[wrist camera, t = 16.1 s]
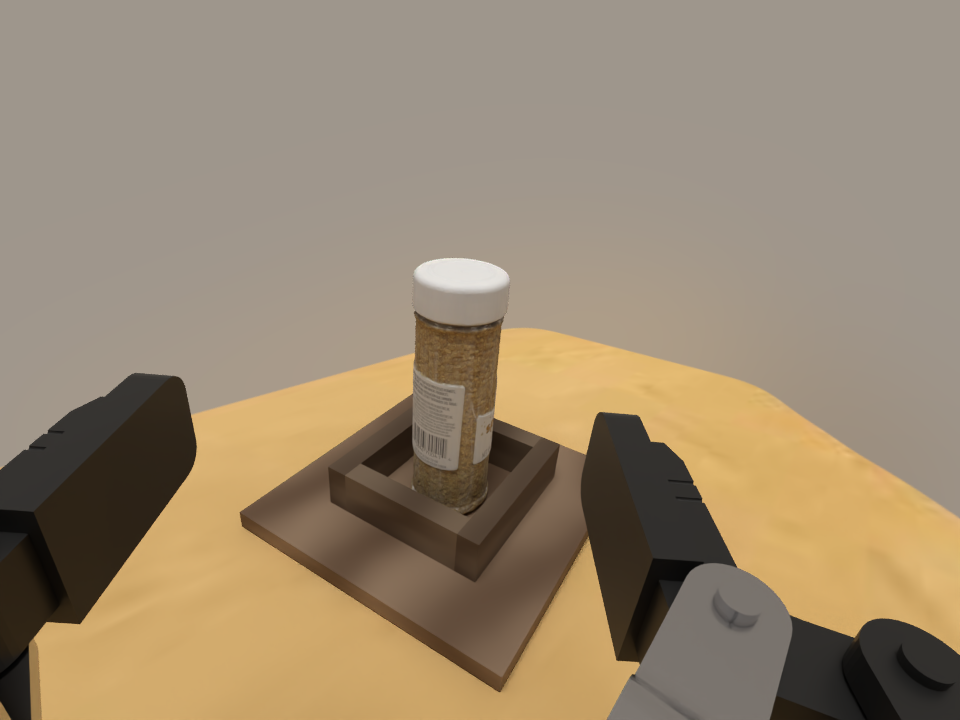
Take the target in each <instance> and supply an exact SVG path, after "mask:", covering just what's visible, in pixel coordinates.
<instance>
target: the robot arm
mask: <svg viewBox="0 0 960 720" xmlns="http://www.w3.org/2000/svg"><path fill="white" fill-rule="evenodd" d="M196 449H197V446H196V438H195V433H194V428H193V423H192V418H191V413H190V408H189V403H188V398H187V393H186V388H185V385H184V383H183V381H182V380H181V379H180V378H179V377H176V376H167V375H154V374H142V373H134V374H131V375H130V376H128V377H127V378H126V379H125V380H124V381H123V382H121V383H120V384H119V385H118V386H117V387H116V388H115V389H113V390H112V391H111V392H110V393H109V394H108V395H106V396H105V397H99V398H97V399H95V400H93V401H91V402H89V403H87V404H85V405H83V406H81V407H79V408H77V409H75V410H73V411H71V412H69V413H68V414H67V415H66V416H65V417H63V418H62V419H61V420H60V421H58V422H57V423H56V424H55V425H54V426H52V427H51V428H50V429H49V430H48V434H43V435H42V436H41V437H39V438H38V439H37V440H36V441H34V442H33V443H32V444H31V445H30V446H29V450H24V451H22V452H21V453H20V454H19V455H17V456H16V457H15V458H14V459H13V460H12V461H10V462H9V463H8V464H7V465H5V466H4V467H3V468H2V469H1V470H0V720H42V715H41V694H40V674H39V654H38V647H37V644H36V642H35V640H34V637H35V636H36V634H37V633H38V632H39V630H40V629H41V628H42V627H43V625H44V624H45V623H46V622H55V623H71V624H81V622H82V621H83V620H84V618H85V617H86V615H87V614H88V613H89V611H90V610H91V608H92V607H93V606H94V604H95V603H96V602H97V600H98V599H99V597H100V596H101V595H102V593H103V592H104V591H105V589H106V588H107V586H108V585H109V584H110V582H111V581H112V580H113V578H114V577H115V575H116V574H117V573H118V571H119V570H120V569H121V567H122V566H123V564H124V563H125V562H126V560H127V559H128V558H129V556H130V555H131V553H132V552H133V551H134V549H135V548H136V547H137V545H138V544H139V542H140V541H141V540H142V538H143V537H144V536H145V534H146V533H147V531H148V530H149V529H150V527H151V526H152V524H153V523H154V522H155V520H156V519H157V518H158V516H159V515H160V513H161V512H162V511H163V509H164V508H165V507H166V505H167V504H168V502H169V501H170V500H171V498H172V497H173V496H174V494H175V493H176V491H177V490H178V489H179V487H180V486H181V485H182V483H183V482H184V480H185V479H186V478H187V476H188V475H189V473H190V471H191V470H192V467H193V465H194V461H195V457H196ZM693 482H694V481H693V479H692V477H691V475H690V473H689V472H688V470H687V468H686V466H685V464H684V462H683V460H681V459H680V458H679V457H678V456H677V455H676V454H675V453H674V452H673V451H672V450H671V449H670V448H669V447H668V446H667V445H666V444H664V443H659V442H651V441H650V439H649V437H648V434H647V432H646V430H645V428H644V426H643V423H642V421H641V419H640V417H639V416H637V415H629V414H617V413H605V412H599V413H598V414H597V416H596V418H595V421H594V425H593V430H592V434H591V438H590V442H589V446H588V450H587V455H586V459H585V463H584V467H583V471H582V477H581V503H582V508H583V513H584V517H585V522H586V526H587V531H588V535H589V540H590V544H591V549H592V553H593V557H594V562H595V566H596V571H597V575H598V580H599V584H600V589H601V593H602V598H603V602H604V606H605V611H606V615H607V620H608V624H609V629H610V633H611V638H612V642H613V647H614V651H615V656H616V660H617V661H631V662H639V663H640V666H639V668H638V670H637V672H636V673H635V675H634V674H632V675H631V677H630V678H629V680H628V681H627V683H626V685H625V687H624V688H623V690H622V692H621V694H620V696H619V698H618V700H617V701H616V703H615V705H614V707H613V709H612V711H611V713H610V715H609V716H608V718H607V720H960V655H959V654H957V653H956V652H955V651H954V650H953V649H952V648H950V647H949V646H948V645H946V644H945V643H943V642H942V641H941V640H939V639H937V638H936V637H934V636H933V635H931V634H929V633H927V632H926V631H924V630H922V629H920V628H918V627H915V626H913V625H910V624H908V623H904V622H901V621H898V620H892V619H874V620H871V621H869V622H867V623H866V624H865V625H864V626H863V627H862V628H861V630H860V631H859V633H858V634H857V636H856V637H855V638H853V637H850V636H847V635H844V634H841V633H838V632H835V631H833V630H830V629H827V628H824V627H821V626H818V625H815V624H812V623H809V622H806V621H803V620H801V619H798V618H796V617H793V616H791V615H789V613H788V611H787V609H786V607H785V605H784V604H783V602H782V601H781V600H780V598H779V597H778V596H777V595H776V594H775V593H774V591H773V590H771V589H770V588H769V587H768V586H767V585H766V584H765V583H763V582H762V581H761V580H759V579H758V578H756V577H755V576H753V575H751V574H750V573H748V572H746V571H743V570H741V569H739V568H737V566H736V564H735V562H734V560H733V558H732V556H731V554H730V552H729V550H728V548H727V546H726V544H725V542H724V540H723V538H722V537H721V535H720V533H719V531H718V529H717V527H716V525H715V523H714V521H713V519H712V517H711V515H710V513H709V511H708V509H707V507H706V505H705V503H702V497H701V495H700V493H699V491H698V489H697V487H696V486H694V485H693Z"/></svg>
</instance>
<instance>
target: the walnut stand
mask: <svg viewBox="0 0 960 720" xmlns="http://www.w3.org/2000/svg"><path fill="white" fill-rule="evenodd" d="M412 438H413V394H412V395H410V396H409V397H407V398H406V399H404V400H403V401H401V402H400V403H399V404H397V405H396V406H394V407H393V408H391V409H390V410H388V411H387V412H385V413H384V414H382V415H381V416H380V417H378V418H377V419H375V420H374V421H372V422H371V423H369V424H368V425H366V426H365V427H363V428H362V429H361V430H359V431H358V432H356V433H355V434H353V435H352V436H350V437H349V438H347V439H346V440H345V441H343V442H342V443H340V444H339V445H337V446H336V447H334V448H333V449H331V450H330V451H328V452H327V453H326V454H324V455H323V456H321V457H320V458H318V459H317V460H315V461H314V462H312V463H311V464H310V465H308V466H307V467H305V468H304V469H302V470H301V471H299V472H298V473H296V474H295V475H293V476H292V477H291V478H289V479H288V480H286V481H285V482H283V483H282V484H280V485H279V486H277V487H276V488H274V489H273V490H272V491H270V492H269V493H267V494H266V495H264V496H263V497H261V498H260V499H258V500H257V501H256V502H254V503H253V504H251V505H250V506H248V507H247V508H245V509H244V510H242V511H241V512H240V517H241V522H242V526H243V527H244V528H246V529H247V530H249V531H251V532H252V533H254V534H255V535H257V536H258V537H260V538H261V539H263V540H265V541H266V542H268V543H269V544H271V545H272V546H274V547H275V548H277V549H278V550H280V551H282V552H283V553H285V554H286V555H288V556H289V557H291V558H292V559H294V560H296V561H297V562H299V563H300V564H302V565H303V566H305V567H306V568H308V569H310V570H311V571H313V572H314V573H316V574H317V575H319V576H320V577H322V578H324V579H325V580H327V581H328V582H330V583H331V584H333V585H334V586H336V587H337V588H339V589H341V590H342V591H344V592H345V593H347V594H348V595H350V596H351V597H353V598H355V599H356V600H358V601H359V602H361V603H362V604H364V605H365V606H367V607H369V608H370V609H372V610H373V611H375V612H376V613H378V614H379V615H381V616H382V617H384V618H386V619H387V620H389V621H390V622H392V623H393V624H395V625H396V626H398V627H400V628H401V629H403V630H404V631H406V632H407V633H409V634H410V635H412V636H414V637H415V638H417V639H418V640H420V641H421V642H423V643H424V644H426V645H427V646H429V647H431V648H432V649H434V650H435V651H437V652H438V653H440V654H441V655H443V656H445V657H446V658H448V659H449V660H451V661H452V662H454V663H455V664H457V665H459V666H460V667H462V668H463V669H465V670H466V671H468V672H469V673H471V674H473V675H474V676H476V677H477V678H479V679H480V680H482V681H483V682H485V683H486V684H488V685H490V686H491V687H493V688H494V689H496V690H497V691H499V692H500V691H501V689H502V687H503V686H504V684H505V682H506V680H507V678H508V677H509V675H510V673H511V671H512V670H513V668H514V666H515V664H516V663H517V661H518V659H519V657H520V656H521V654H522V652H523V650H524V649H525V647H526V645H527V643H528V641H529V640H530V638H531V636H532V634H533V633H534V631H535V629H536V627H537V626H538V624H539V622H540V620H541V619H542V617H543V615H544V613H545V611H546V610H547V608H548V606H549V604H550V603H551V601H552V599H553V597H554V596H555V594H556V592H557V590H558V589H559V587H560V585H561V583H562V581H563V580H564V578H565V576H566V574H567V573H568V571H569V569H570V567H571V566H572V564H573V562H574V560H575V559H576V557H577V555H578V553H579V551H580V550H581V548H582V546H583V544H584V543H585V541H586V539H587V537H588V536H589V535H588V531H587V526H586V522H585V517H584V513H583V508H582V503H581V477H582V471H583V467H584V463H585V459H586V455H584V454H582V453H579V452H577V451H574V450H572V449H569V448H567V447H564V446H562V445H560V444H558V443H555V442H553V441H550V440H547V439H545V438H542V437H540V436H537V435H535V434H532V433H530V432H527V431H525V430H522V429H520V428H517V427H515V426H512V425H510V424H507V423H505V422H502V421H500V420H497V419H495V418H494V419H493V431H492V442H491V450H490V453H489V461H488V473H487V481H488V492H487V495H486V498H485V499H484V501H483V502H482V503H481V504H480V505H479V506H478V507H477V508H476V509H474V510H473V511H471V512H468V513H465V514H463V515H462V514H460V513H458V512H456V511H454V510H452V509H450V508H448V507H446V506H444V505H442V504H440V503H438V502H436V501H434V500H432V499H430V498H428V497H426V496H424V495H422V494H420V493H418V492H416V491H414V490H412V489H411V480H412V478H413V474H414V473H413V472H414V467H413V463H414V449H413V442H412Z"/></svg>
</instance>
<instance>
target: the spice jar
mask: <svg viewBox="0 0 960 720" xmlns="http://www.w3.org/2000/svg"><path fill="white" fill-rule="evenodd" d="M509 288H510V279H509V276H508V274H507V273H506V272H505V271H504V270H503V269H502V268H500V267H498V266H495V265H493V264H490V263H487V262H483V261H479V260H472V259H462V258H445V259H437V260H431V261H428V262H425V263H423V264H421V265H420V266H418V267H417V268H416V270H415V271H414V275H413V308H414V309H415V312H414V314H415V318H416V341H415V345H416V346H415V360H414V370H413V438H412V442H413V449H414V463H413V467H414V472H413V473H414V474H413V478H412V480H411V489H412V490H414V491H416V492H418V493H420V494H422V495H424V496H426V497H428V498H430V499H432V500H434V501H436V502H438V503H440V504H442V505H444V506H446V507H448V508H450V509H452V510H454V511H456V512H458V513H460V514H462V515H463V514H465V513H468V512H471V511H473V510H474V509H476V508H477V507H478V506H479V505H480V504H481V503H482V502H483V501H484V499H485V498H486V495H487V492H488V481H487V473H488V461H489V453H490V450H491V442H492V431H493V419H494V409H495V398H496V388H497V365H498V354H499V343H500V333H501V325H502V322H503V318H504V316H505V314H506V313H507V309H508V300H509Z"/></svg>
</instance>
